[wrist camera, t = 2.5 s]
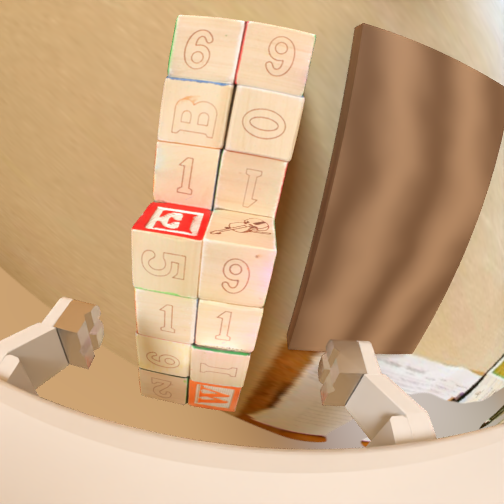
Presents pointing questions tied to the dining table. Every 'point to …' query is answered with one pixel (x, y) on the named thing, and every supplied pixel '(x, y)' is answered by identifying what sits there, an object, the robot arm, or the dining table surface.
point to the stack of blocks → (215, 205)
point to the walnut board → (397, 194)
